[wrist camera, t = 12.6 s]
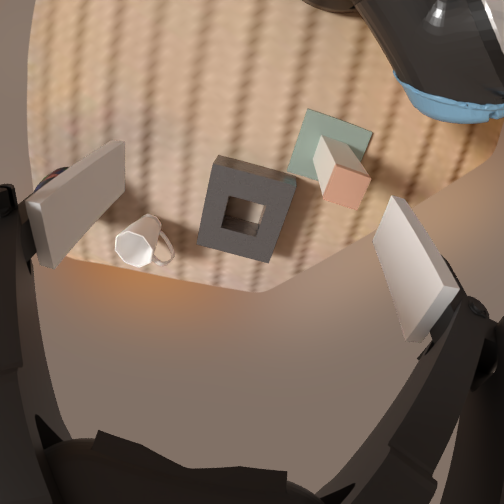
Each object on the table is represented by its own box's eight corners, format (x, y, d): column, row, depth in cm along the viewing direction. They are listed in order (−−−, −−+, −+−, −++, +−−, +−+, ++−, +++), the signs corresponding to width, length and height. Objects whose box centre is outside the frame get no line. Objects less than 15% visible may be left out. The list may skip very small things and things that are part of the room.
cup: (144, 198, 51) (124, 222, 44) (190, 233, 54) (177, 261, 47) (126, 225, 54) (107, 250, 47) (169, 257, 57) (155, 285, 51)
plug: (321, 134, 42) (337, 166, 30) (347, 143, 42) (371, 178, 31) (312, 159, 44) (323, 199, 33) (337, 167, 44) (357, 210, 33)
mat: (307, 108, 40) (307, 109, 40) (371, 131, 41) (372, 132, 41) (286, 170, 46) (287, 171, 46) (348, 189, 47) (348, 190, 46)
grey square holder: (218, 155, 45) (213, 163, 42) (295, 176, 46) (296, 186, 43) (201, 231, 53) (196, 244, 50) (269, 249, 54) (268, 263, 51)
